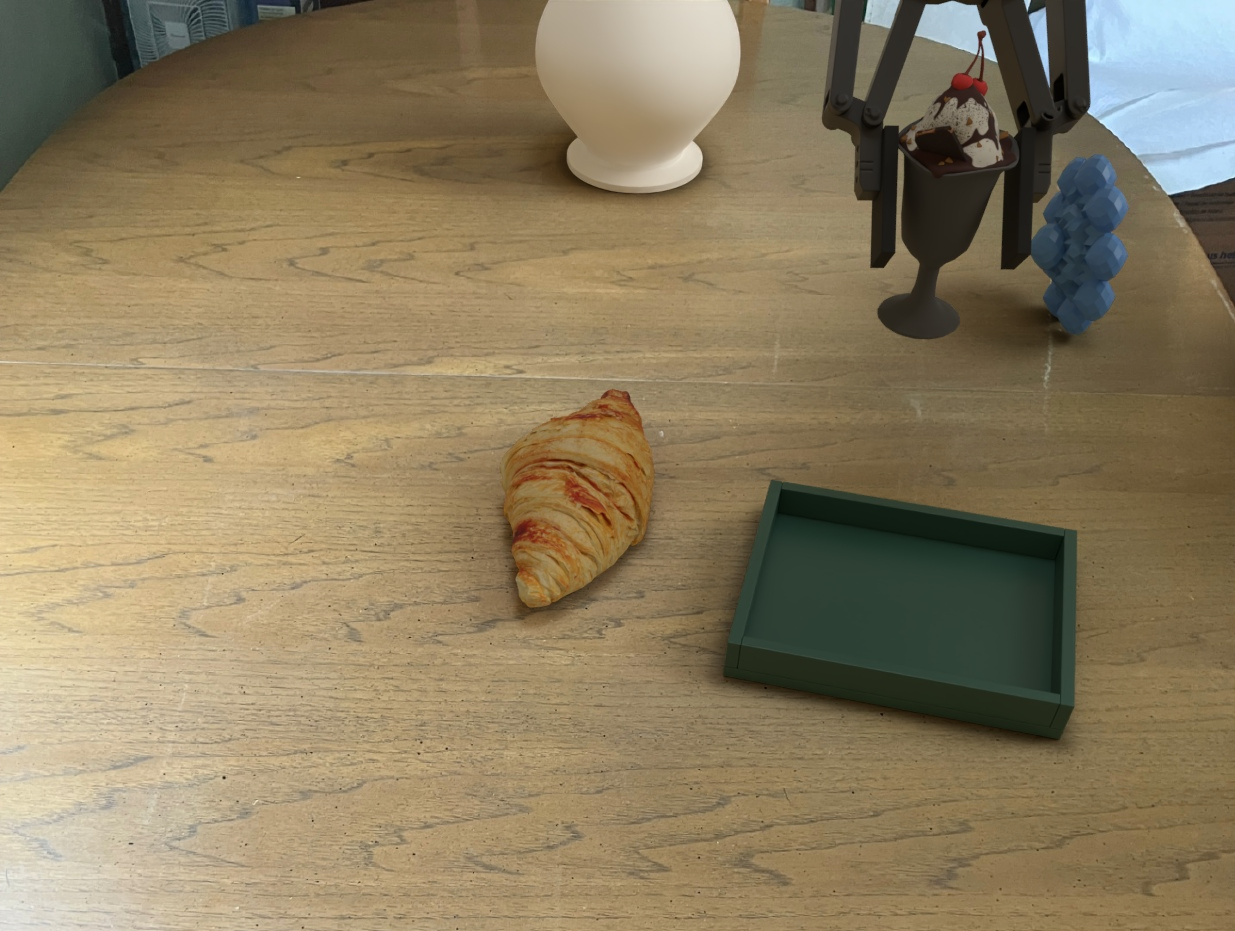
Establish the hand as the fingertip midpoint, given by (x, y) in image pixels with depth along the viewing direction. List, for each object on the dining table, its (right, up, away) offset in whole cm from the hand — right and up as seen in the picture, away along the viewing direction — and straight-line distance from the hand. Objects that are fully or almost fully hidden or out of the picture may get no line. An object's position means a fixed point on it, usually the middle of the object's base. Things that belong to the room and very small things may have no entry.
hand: (949, 260), depth 68 cm
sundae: (0, -1, +7) cm, 7 cm away
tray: (-1, -18, +9) cm, 20 cm away
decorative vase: (-17, +29, +47) cm, 57 cm away
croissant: (-21, -11, +14) cm, 28 cm away
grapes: (+16, +8, +31) cm, 36 cm away
